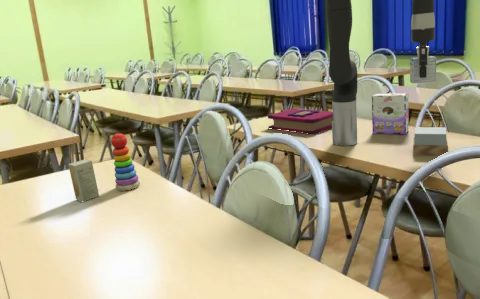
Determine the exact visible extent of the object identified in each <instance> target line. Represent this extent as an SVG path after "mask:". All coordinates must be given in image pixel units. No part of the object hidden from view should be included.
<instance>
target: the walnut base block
mask: <svg viewBox="0 0 480 299" xmlns="http://www.w3.org/2000/svg"><path fill="white" fill-rule="evenodd" d="M412 143H413V145H412V147H413V148H412V156H426V157H427V156H429V157H430V156H431V157H432V156H435V157H440V156H439V155H442V154H444V153H446V152H448V153H449V144H448V139H447V137H446V146H442V145H414V138H413V141H412Z"/></svg>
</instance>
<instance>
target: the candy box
mask: <svg viewBox="0 0 480 299" xmlns="http://www.w3.org/2000/svg"><path fill="white" fill-rule="evenodd" d="M371 114H372V116H371V117H372V119H371V120H372V124H371V125H372V134H380V133H381V134H383V135H384V134H385V135H406V134H407V133H409V93H407V92H406V93H404V92H401V93H400V92H399V93H397V92H395V93H394V92H393V93H386V92H385V93H374V94H373V95H371Z"/></svg>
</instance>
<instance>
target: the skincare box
mask: <svg viewBox="0 0 480 299" xmlns="http://www.w3.org/2000/svg"><path fill="white" fill-rule="evenodd" d="M68 169H69V173H70V178H71V183H72V188H73V192H74V196H75V200H76V199H77V200H76V201H78V200H79V201H78V202H80V201H81V202H80V203H83V202H82V201H84V202H87V201H90V200H92V199H91V198H93V199H95V198H97V196H98V197H100V192H99V188H98V184H97V179H96V173H95V168H94V164H93V161H92V160H91V159H87V158H84V159H80V160H78V161H74V162H71V163H68ZM94 197H95V198H94ZM89 199H90V200H89ZM86 200H87V201H86Z"/></svg>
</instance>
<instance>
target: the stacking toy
mask: <svg viewBox="0 0 480 299" xmlns="http://www.w3.org/2000/svg"><path fill="white" fill-rule="evenodd" d="M127 143H128V139H127V136H126V135H125V134H123V133H115V134H113V135H112V137H111V138H110V144H111V145H112V147H113V148H114V149H113V150H112V153H113V154H114V156H113V159H114V162H113V165H114V177H115V179H114V180H115V189H116V190H117V191H120V190H121V192H122V191H123V192H126V191H125V190H128V191H131V189H132V190H135V189H137V188H138V187H139V186H140V184H141V183H140V182H141V181H140V180H139V175H138V174H137V170H136V169H135V165H134V163H133V159H132V158H131V157H132V155H131V153H130V152H129V151H130V149H129V147H128V146H127ZM136 187H137V188H136ZM134 188H135V189H134Z"/></svg>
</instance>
